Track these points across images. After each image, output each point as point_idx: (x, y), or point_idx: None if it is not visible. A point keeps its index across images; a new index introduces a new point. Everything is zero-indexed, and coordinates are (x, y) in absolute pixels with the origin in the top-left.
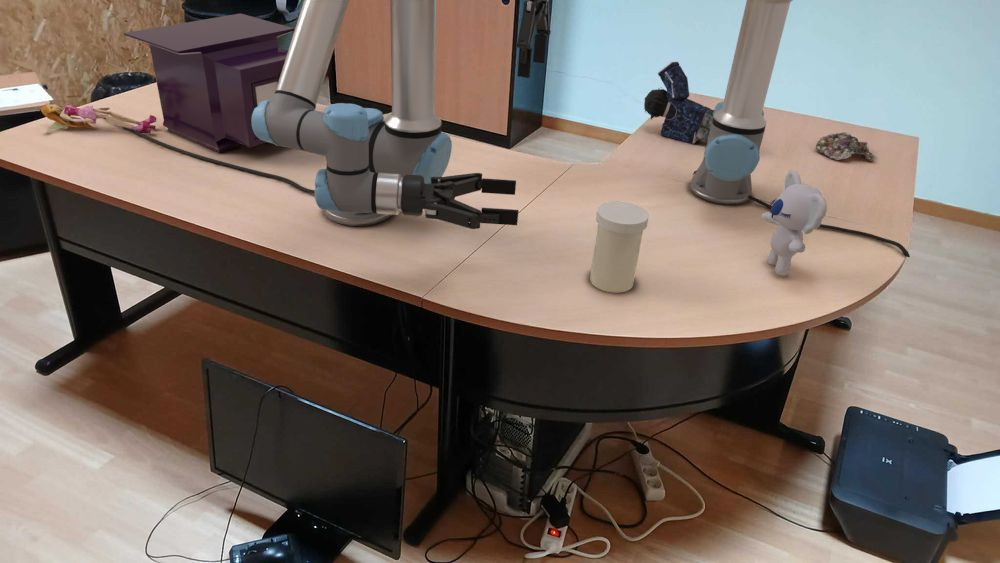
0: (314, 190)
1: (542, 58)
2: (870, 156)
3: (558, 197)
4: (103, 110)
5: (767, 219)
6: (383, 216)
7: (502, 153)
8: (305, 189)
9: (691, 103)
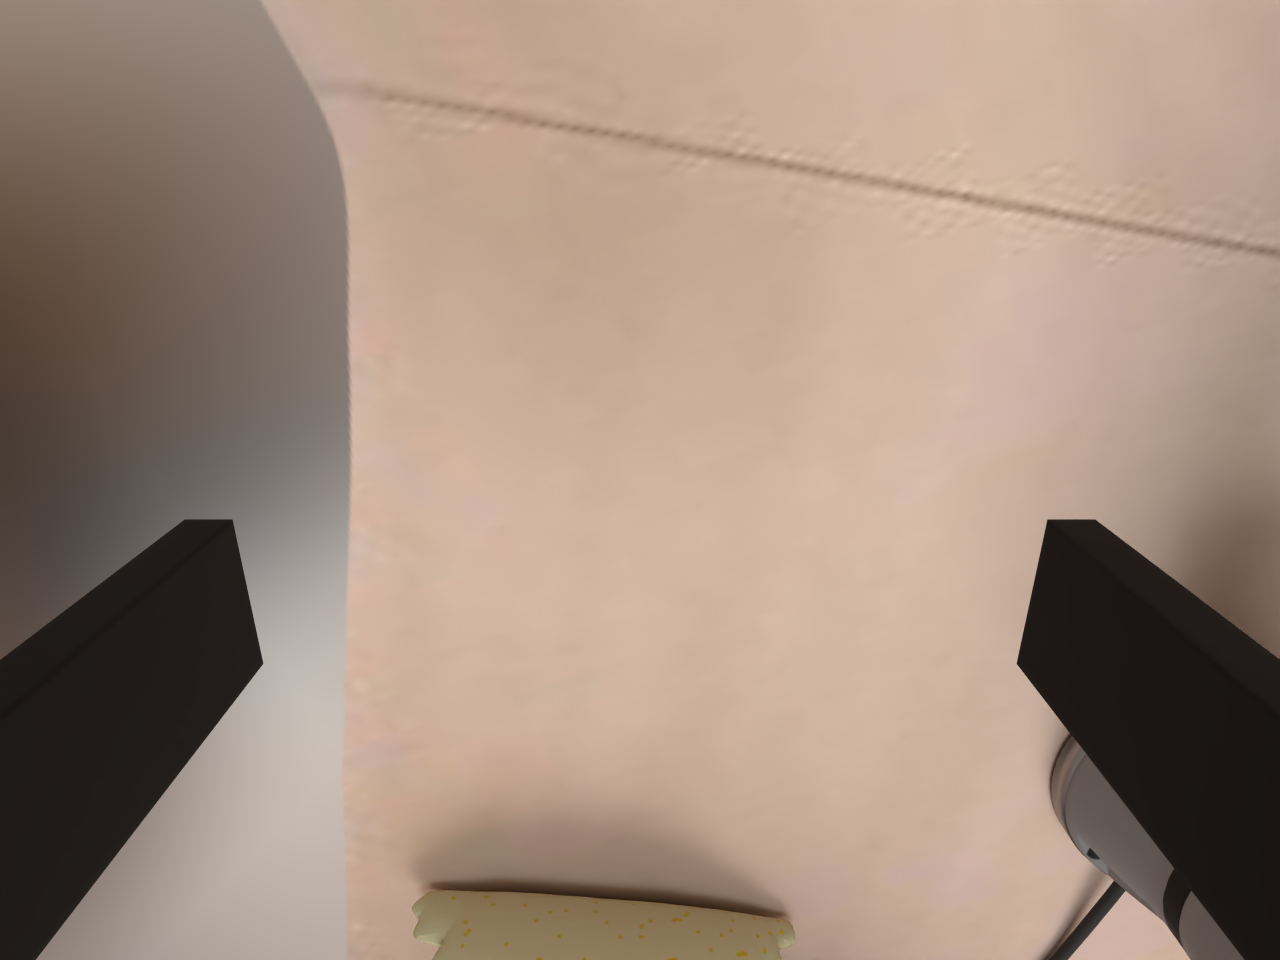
0: (1088, 934)
1: (198, 575)
2: None
3: (802, 54)
4: None
5: None
6: None
7: (388, 488)
8: (1070, 955)
9: None
